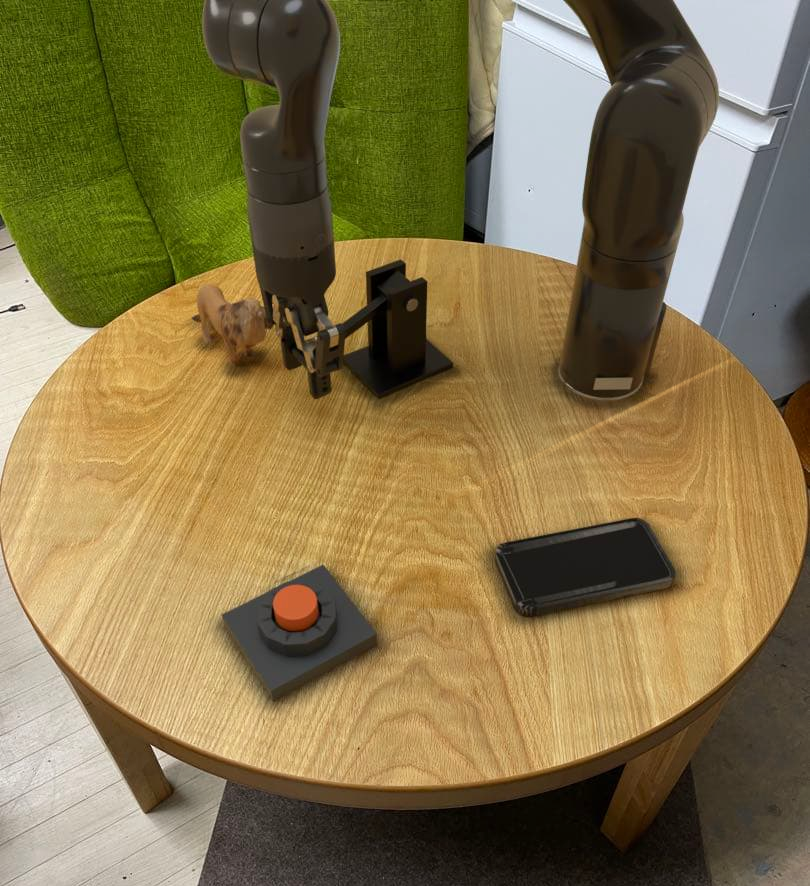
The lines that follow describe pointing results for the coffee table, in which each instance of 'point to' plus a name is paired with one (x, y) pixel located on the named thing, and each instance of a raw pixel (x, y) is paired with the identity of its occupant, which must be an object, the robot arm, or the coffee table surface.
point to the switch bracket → (396, 337)
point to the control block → (299, 635)
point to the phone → (583, 566)
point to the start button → (295, 608)
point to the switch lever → (360, 313)
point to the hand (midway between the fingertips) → (307, 379)
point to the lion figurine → (232, 321)
